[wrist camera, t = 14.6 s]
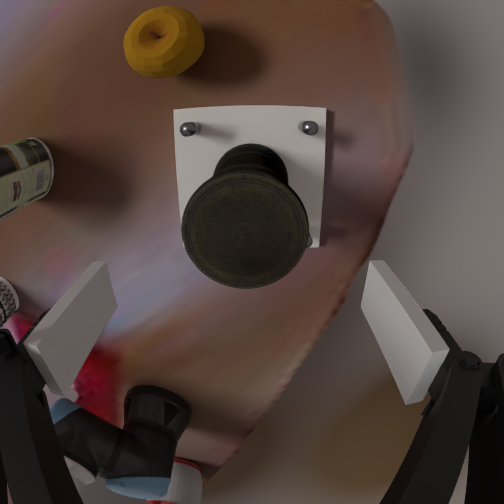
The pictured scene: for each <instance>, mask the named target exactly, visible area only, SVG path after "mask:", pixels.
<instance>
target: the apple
mask: <svg viewBox="0 0 504 504" xmlns="http://www.w3.org/2000/svg"><path fill="white" fill-rule="evenodd" d="M123 45H124V50H125V55H126V59H127V61H128V63H129V65H130V66H131V67H132V68H133V70H134V71H136V72H138V73H140V74H142V75H144V76H146V77H152V78H165V77H172V76H175V75H178V74H180V73H182V72H183V71H185V70H187V69H188V68H189V67H190V66H192V65H193V64H194V63H195V62H196V61H197V60H198V59H199V57H200V56H201V55H202V53H203V50H204V46H205V45H204V34H203V31H202V28H201V26H200V23H199V21H198V20H197V19H196V17H195V16H194V15H193V14H192V13H191V12H189V11H187V10H185V9H183V8H179V7H175V6H162V7H157V8H153V9H149V10H148V11H146V12H144V13H143V14H141V15H140V16H139V17H138V18H137V19H136V20H135V21H134V22H133V23H132V24H131V25H130V27H129V29H128V30H127V32H126V34H125V37H124V43H123Z"/></svg>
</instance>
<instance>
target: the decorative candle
mask: <svg viewBox="0 0 504 504" xmlns="http://www.w3.org/2000/svg"><path fill="white" fill-rule="evenodd" d="M18 308H19V299H18V296H17V293H16V291H15V289H14V288H13V287H12V285H11V284H10V283H9V282H8V281H7V280H6V279H4V278H2V277H0V328H1V327H2V326H3V324H4V323H5V322H7V320H8V319H9V318H10V317H11V316H12V315H13V314H14V313H15V311H16V310H17V309H18Z"/></svg>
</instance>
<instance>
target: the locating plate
mask: <svg viewBox="0 0 504 504" xmlns="http://www.w3.org/2000/svg"><path fill="white" fill-rule="evenodd" d="M174 135H175V154H176V170H177V184H178V197H179V208H180V219H181V225H182V217H183V213H184V210H185V207H186V205H187V203H188V201H189V199H190V197H191V196H192V195H193V193H194V192H195V191H196V190H197V189H198V187H200V186H201V185H202V184H203V183H204V182H205V181H207V180H208V179H210V178H211V177H212V176H213V173H214V170H215V167H216V165H217V163H218V161H219V160H220V158H221V157H222V156H223V155H224V154H225V153H226V152H227V151H228V150H230V149H232V148H234V147H236V146H238V145H242V144H248V143H254V144H260V145H263V146H266V147H268V148H270V149H272V150H273V151H274V152H276V153H277V154H278V155H279V156H280V158H281V159H282V160H283V162H284V164H285V166H286V169H287V173H288V184H289V186H290V187H291V188H292V189H293V190H294V191H295V192H296V193H297V195H298V196H299V197H300V199H301V201H302V202H303V205H304V207H305V209H306V212H307V216H308V221H309V237H308V242H307V246H306V248H309V247H319V240H320V229H321V216H322V201H323V185H324V165H325V138H326V108H317V107H300V106H219V107H201V108H188V109H177V110H174ZM183 248H185V246H184V243H183Z"/></svg>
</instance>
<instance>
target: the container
mask: <svg viewBox="0 0 504 504" xmlns="http://www.w3.org/2000/svg"><path fill="white" fill-rule="evenodd" d="M181 231H182V239H183V243H184V246H185V249H186V251H187V253H188V255H189V257H190V259H191V260H192V262H193V263H194V264H195V265H196V267H197V268H198V269H199V270H200V271H201V272H202V273H204V274H205V275H206V276H208V277H209V278H211V279H212V280H214V281H216V282H218V283H220V284H223V285H226V286H229V287H234V288H241V289H252V288H259V287H263V286H266V285H269V284H272V283H274V282H276V281H278V280H280V279H281V278H283V277H284V276H286V275H287V274H288V273H289V272H290V271H291V270H292V269H293V268H294V267H295V266H296V265H297V263H298V262H299V260H300V259H301V257H302V255H303V253H304V251H305V249H306V246H307V242H308V237H309V221H308V216H307V212H306V209H305V207H304V205H303V202H302V201H301V199H300V197H299V196H298V195H297V193H296V192H295V191H294V190H293V189H292V188H291V187H290V186H289V184H288V173H287V169H286V166H285V164H284V162H283V160H282V159H281V158H280V156H279V155H278V154H277V153H276V152H274V151H273V150H272V149H270V148H268V147H266V146H263V145H260V144H254V143H248V144H242V145H238V146H236V147H234V148H232V149H230V150H228V151H227V152H226V153H225V154H224V155H223V156H222V157H221V158H220V160H219V161H218V163H217V165H216V167H215V170H214V173H213V176H212V177H211V178H210V179H208V180H207V181H205V182H204V183H203V184H202V185H201V186H200V187H198V189H197V190H196V191H195V192H194V193H193V195H192V196H191V197H190V199H189V201H188V203H187V205H186V207H185V210H184V213H183V217H182V225H181Z"/></svg>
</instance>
